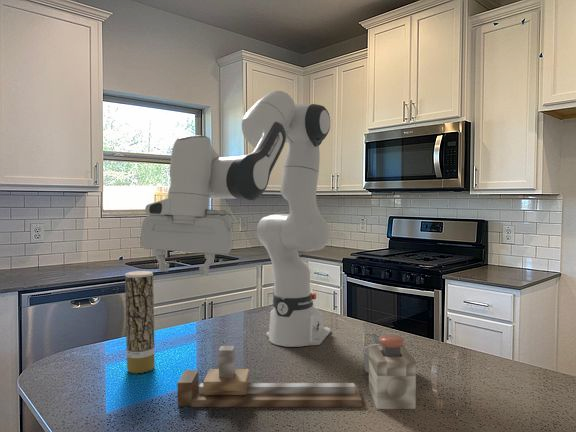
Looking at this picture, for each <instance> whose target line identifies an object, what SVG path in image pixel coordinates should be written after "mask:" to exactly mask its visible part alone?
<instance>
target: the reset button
mask: <svg viewBox="0 0 576 432" xmlns="http://www.w3.org/2000/svg"><path fill="white" fill-rule="evenodd" d="M378 338H379V344H380V345H381V346H382V354H383V356H384V357H400V347H402V346H404V345H405V344H404V343H405V341H404V337H402V336H400V335H396V334H382V335H380V336H379V337H378Z"/></svg>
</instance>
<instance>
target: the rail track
mask: <svg viewBox="0 0 576 432" xmlns="http://www.w3.org/2000/svg"><path fill="white" fill-rule="evenodd" d="M407 350H408V349H407V348H406V346H404V345H403V346H402V347H400V357H384V356H383V354H382V346H369V373H368V390H369V392H370V395H371V397H372V400H373V402H374V404H375V407H376V409H377V410H416V409H417V408H416V399H417V398H416V394H417V393H416V392H417V388H416V387H417V384H416V383H417V382H416V381H417V361H416V359H414V357H413V355H411V353H410V351H409V350H408V351H409V352H408V351H407ZM199 373H200V372H199V369H184V371H183V373H182V374H181V376H180V378H179V380H178V381H177V383H176V384H177V387H176V388H177V406H179V407H182V406H183V407H187V406H188V407H191V408H206V407H207V408H213V407H214V408H261V407H262V408H296V407H297V408H298V407H299V408H307V407H308V408H309V407H310V408H335V407H336V408H362V407H363V399H362V396H361V393H360V390H359V387H358V385H357V383H355V382H249V383H248V384H247V395H205V391H203V382H201V383H199V382H200V381H199V380H200V379H199V377H200V376H199Z"/></svg>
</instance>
